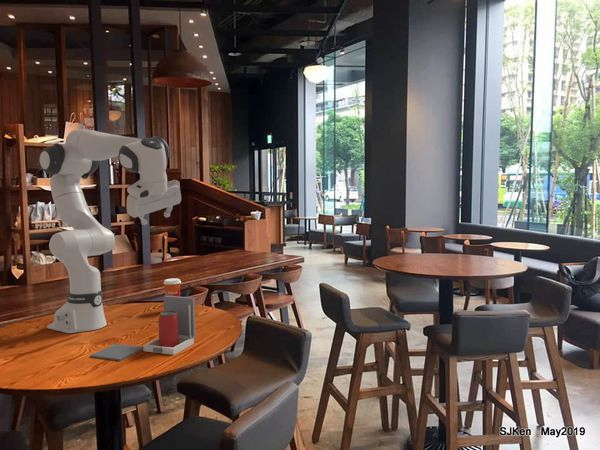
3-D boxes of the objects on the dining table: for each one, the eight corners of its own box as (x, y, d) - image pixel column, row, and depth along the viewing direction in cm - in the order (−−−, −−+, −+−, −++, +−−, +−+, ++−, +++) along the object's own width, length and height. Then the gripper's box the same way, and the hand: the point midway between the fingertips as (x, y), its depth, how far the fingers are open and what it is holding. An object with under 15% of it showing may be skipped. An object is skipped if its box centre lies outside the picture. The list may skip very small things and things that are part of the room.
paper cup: (161, 312, 207) (160, 281, 206) (168, 308, 215) (167, 277, 214) (177, 313, 206) (177, 281, 205) (185, 308, 214) (184, 278, 213)
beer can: (173, 351, 157) (172, 315, 156) (155, 349, 158) (154, 314, 157) (182, 344, 163) (181, 310, 163) (165, 343, 165) (163, 310, 164)
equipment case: (141, 351, 156) (140, 304, 155) (167, 339, 170) (165, 295, 168) (172, 355, 152) (170, 307, 151) (195, 342, 166) (194, 297, 164)
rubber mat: (90, 357, 152) (90, 355, 152) (116, 345, 163) (116, 343, 163) (120, 361, 148) (120, 359, 148) (144, 348, 159) (144, 347, 159)
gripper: (174, 175, 172) (175, 209, 179) (122, 189, 158) (125, 225, 165) (184, 181, 169) (185, 215, 175) (132, 196, 155) (135, 232, 161)
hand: (155, 220), depth 170 cm, fingers open, 8 cm apart
